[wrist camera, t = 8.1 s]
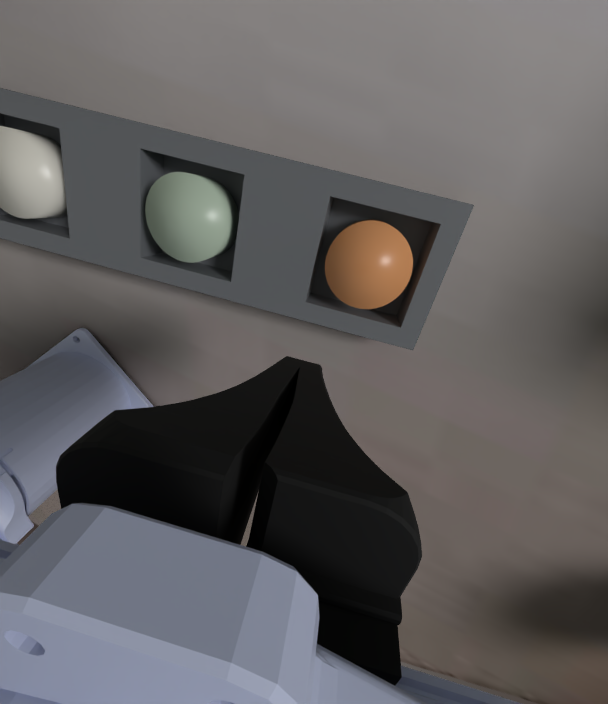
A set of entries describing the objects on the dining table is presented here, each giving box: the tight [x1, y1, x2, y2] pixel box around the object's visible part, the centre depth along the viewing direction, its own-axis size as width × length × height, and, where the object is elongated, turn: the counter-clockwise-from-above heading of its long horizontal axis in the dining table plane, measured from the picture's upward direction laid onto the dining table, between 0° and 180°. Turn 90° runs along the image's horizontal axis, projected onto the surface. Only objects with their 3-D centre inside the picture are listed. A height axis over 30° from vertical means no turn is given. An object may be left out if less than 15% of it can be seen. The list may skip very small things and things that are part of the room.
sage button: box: [145, 172, 239, 263], centre depth 16 cm, size 4×4×2 cm
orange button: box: [325, 219, 413, 309], centre depth 16 cm, size 4×4×2 cm
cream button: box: [0, 126, 68, 219], centre depth 17 cm, size 4×4×2 cm
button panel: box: [0, 88, 474, 350], centre depth 17 cm, size 25×7×2 cm, turn 77°
